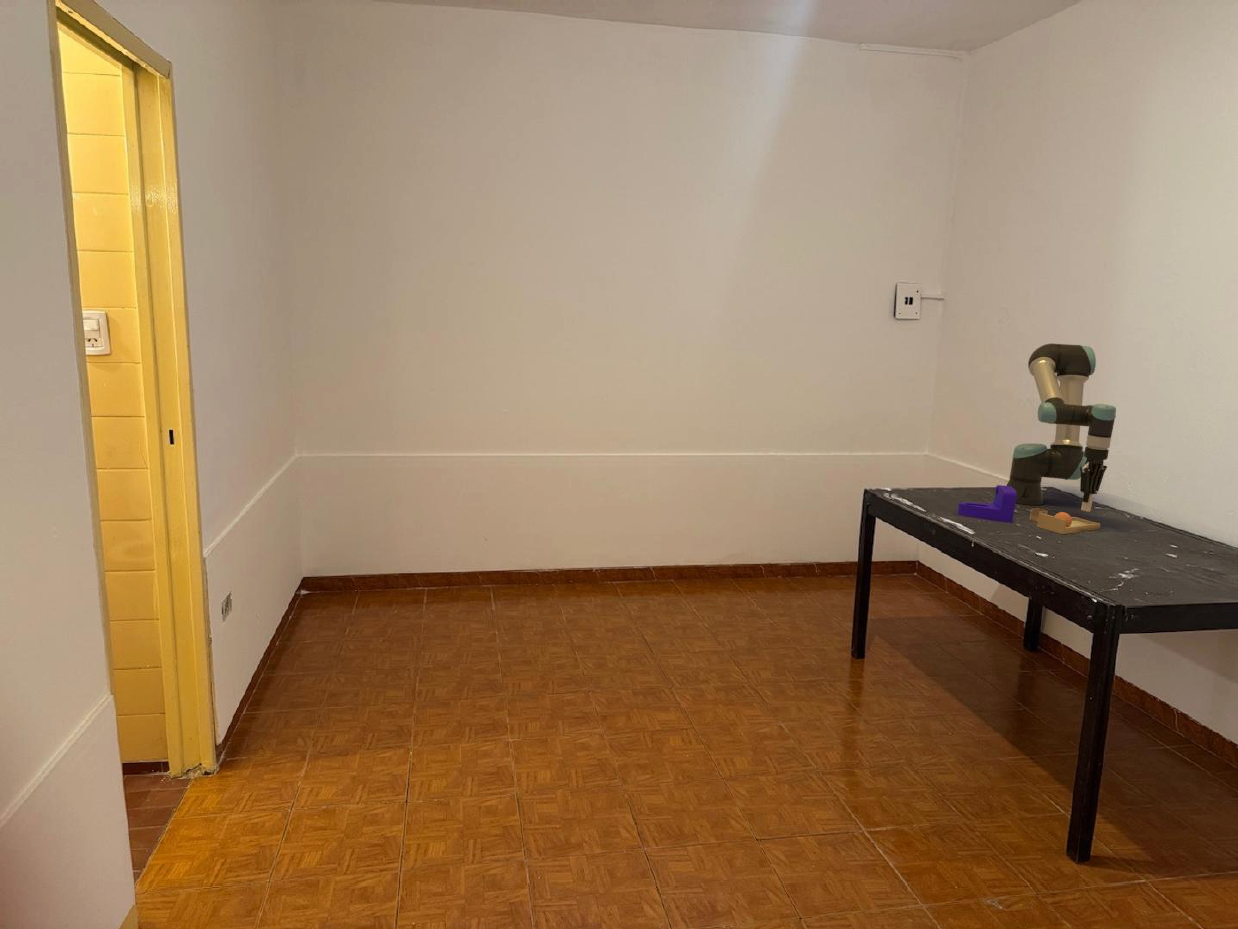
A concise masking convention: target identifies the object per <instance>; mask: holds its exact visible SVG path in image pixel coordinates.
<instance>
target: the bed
mask: <svg viewBox="0 0 1238 929" xmlns="http://www.w3.org/2000/svg"><path fill="white" fill-rule="evenodd" d="M1054 516H1055V515H1050V514H1048V513H1047V514H1043V513H1039V517H1038V522H1037V524H1036V527H1037V528H1041V529H1044V530H1047V531H1051V532H1054V533H1056V534H1057V533H1058V534H1060V535H1064V534H1073V533H1081V532H1087V531H1094V530H1095V531H1097V530H1100V529H1101V523H1099V522H1095V521H1091V520H1087V519H1084V518H1082V517H1081V518H1080V517H1076V516H1071V518H1072V523H1071V525H1070V526H1069V527H1066V522H1067V520H1065V519H1061V518H1057V517H1054Z"/></svg>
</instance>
